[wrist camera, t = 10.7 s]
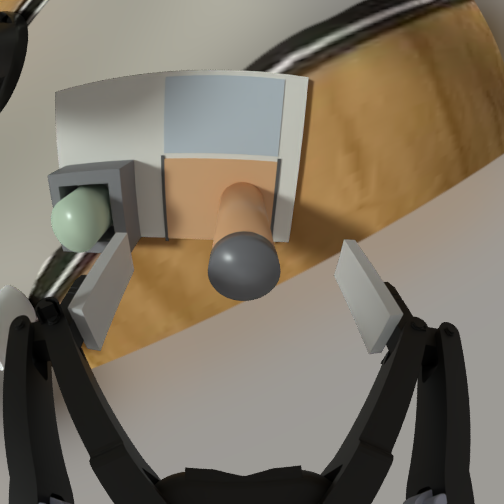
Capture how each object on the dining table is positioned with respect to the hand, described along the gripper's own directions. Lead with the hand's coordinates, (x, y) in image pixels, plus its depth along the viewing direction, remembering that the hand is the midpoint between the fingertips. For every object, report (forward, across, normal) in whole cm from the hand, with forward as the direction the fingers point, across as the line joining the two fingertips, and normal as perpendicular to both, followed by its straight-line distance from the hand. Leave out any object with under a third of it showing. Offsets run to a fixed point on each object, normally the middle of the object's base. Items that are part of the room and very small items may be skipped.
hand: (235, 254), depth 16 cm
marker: (+10, +1, -1) cm, 10 cm away
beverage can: (+11, -36, -18) cm, 41 cm away
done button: (+9, -14, -1) cm, 16 cm away
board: (+11, -6, +3) cm, 13 cm away
